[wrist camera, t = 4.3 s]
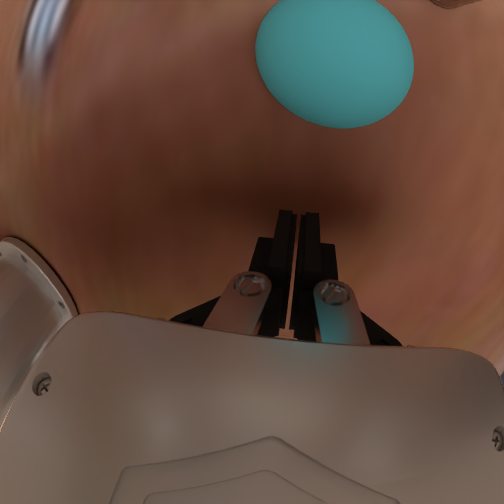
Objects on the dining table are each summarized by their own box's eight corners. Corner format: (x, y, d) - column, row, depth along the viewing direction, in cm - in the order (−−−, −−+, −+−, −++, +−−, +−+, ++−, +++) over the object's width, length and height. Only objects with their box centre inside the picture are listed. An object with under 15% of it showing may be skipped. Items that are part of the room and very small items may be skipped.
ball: (275, -37, 5) (275, 59, 10) (221, 7, 4) (240, 138, 9) (420, -2, 5) (385, 87, 9) (455, 67, 3) (384, 176, 8)
